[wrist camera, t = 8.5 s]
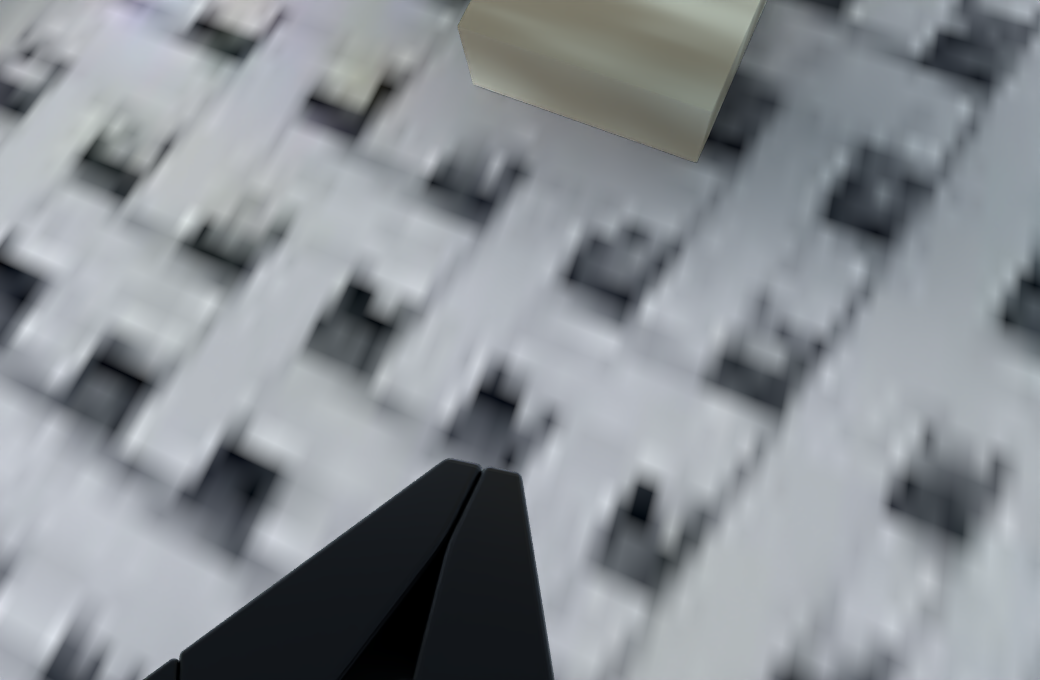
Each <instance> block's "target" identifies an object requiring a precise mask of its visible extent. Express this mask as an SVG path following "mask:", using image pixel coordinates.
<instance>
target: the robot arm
mask: <svg viewBox="0 0 1040 680" xmlns="http://www.w3.org/2000/svg"><path fill="white" fill-rule="evenodd" d="M143 680H554V673H553V667H552V661H551V655H550V648H549V642H548V636H547V630H546V624H545V617H544V611H543V605H542V599H541V592H540V586H539V580H538V574H537V568H536V561H535V555H534V549H533V543H532V537H531V530H530V524H529V518H528V512H527V505H526V499H525V493H524V487H523V481H522V477H521V475H520V474H519V473H517V472H514V471H509V470H505V469H500V468H495V467H486V468H485V469H484V470H483V468H482V467H481V466H480V465H479V464H477V463H472V462H467V461H462V460H458V459H453V458H448V459H445V460H443V461H442V462H440V463H439V464H438V465H436V466H435V467H433V468H432V469H431V470H429V471H428V472H427V473H425V474H424V475H423V476H421V477H420V478H418V479H417V480H416V481H414V482H413V483H412V484H410V485H409V486H408V487H406V488H405V489H403V490H402V491H401V492H399V493H398V494H397V495H395V496H394V497H393V498H391V499H390V500H388V501H387V502H386V503H384V504H383V505H382V506H380V507H379V508H377V509H376V510H375V511H373V512H372V513H371V514H369V515H368V516H367V517H365V518H364V519H362V520H361V521H360V522H358V523H357V524H356V525H354V526H353V527H352V528H350V529H349V530H347V531H346V532H345V533H343V534H342V535H341V536H339V537H338V538H337V539H335V540H334V541H332V542H331V543H330V544H328V545H327V546H326V547H324V548H323V549H322V550H320V551H319V552H317V553H316V554H315V555H313V556H312V557H311V558H309V559H308V560H306V561H305V562H304V563H302V564H301V565H300V566H298V567H297V568H296V569H294V570H293V571H291V572H290V573H289V574H287V575H286V576H285V577H283V578H282V579H281V580H279V581H278V582H276V583H275V584H274V585H272V586H271V587H270V588H268V589H267V590H266V591H264V592H263V593H261V594H260V595H259V596H257V597H256V598H255V599H253V600H252V601H251V602H249V603H248V604H246V605H245V606H244V607H242V608H241V609H240V610H238V611H237V612H235V613H234V614H233V615H231V616H230V617H229V618H227V619H226V620H225V621H223V622H222V623H220V624H219V625H218V626H216V627H215V628H214V629H212V630H211V631H210V632H208V633H207V634H205V635H204V636H203V637H201V638H200V639H199V640H197V641H196V642H195V643H193V644H192V645H190V646H189V647H188V648H186V649H185V650H184V651H182V652H181V654H180V658H179V660H177V659H171V660H169V661H168V662H167V663H165V664H164V665H163V666H161V667H160V668H158V669H157V670H156V671H154V672H153V673H152V674H150V675H149V676H148V677H146V678H145V679H143Z"/></svg>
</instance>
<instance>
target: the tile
mask: <svg viewBox="0 0 1040 680" xmlns="http://www.w3.org/2000/svg"><path fill="white" fill-rule="evenodd" d="M766 2H767V0H471V1H470V3H469V5H468V7H467V9H466V11H465V13H464V15H463V17H462V18H461V20H460V22H459V24H458V30H459V34H460V37H461V41H462V45H463V48H464V52H465V56H466V60H467V63H468V67H469V71H470V74H471V78H472V82H473V85H476V86H479V87H482V88H485V89H488V90H490V91H493V92H496V93H499V94H502V95H505V96H507V97H510V98H513V99H516V100H519V101H522V102H525V103H527V104H530V105H533V106H536V107H539V108H542V109H544V110H547V111H550V112H553V113H556V114H559V115H561V116H564V117H567V118H570V119H573V120H576V121H579V122H581V123H584V124H587V125H590V126H593V127H596V128H598V129H601V130H604V131H607V132H610V133H613V134H615V135H618V136H621V137H624V138H627V139H630V140H632V141H635V142H638V143H641V144H644V145H647V146H650V147H652V148H655V149H658V150H661V151H664V152H667V153H669V154H672V155H675V156H678V157H681V158H684V159H686V160H689V161H692V162H695V163H697V161H698V159H699V157H700V155H701V152H702V150H703V148H704V145H705V143H706V141H707V138H708V136H709V134H710V131H711V129H712V127H713V125H714V122H715V120H716V118H717V115H718V113H719V111H720V108H721V106H722V104H723V101H724V99H725V97H726V95H727V92H728V90H729V88H730V85H731V83H732V81H733V78H734V76H735V74H736V71H737V69H738V67H739V65H740V62H741V60H742V58H743V55H744V53H745V51H746V48H747V46H748V44H749V41H750V39H751V37H752V35H753V32H754V30H755V28H756V25H757V23H758V21H759V18H760V16H761V14H762V11H763V9H764V7H765V5H766Z"/></svg>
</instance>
